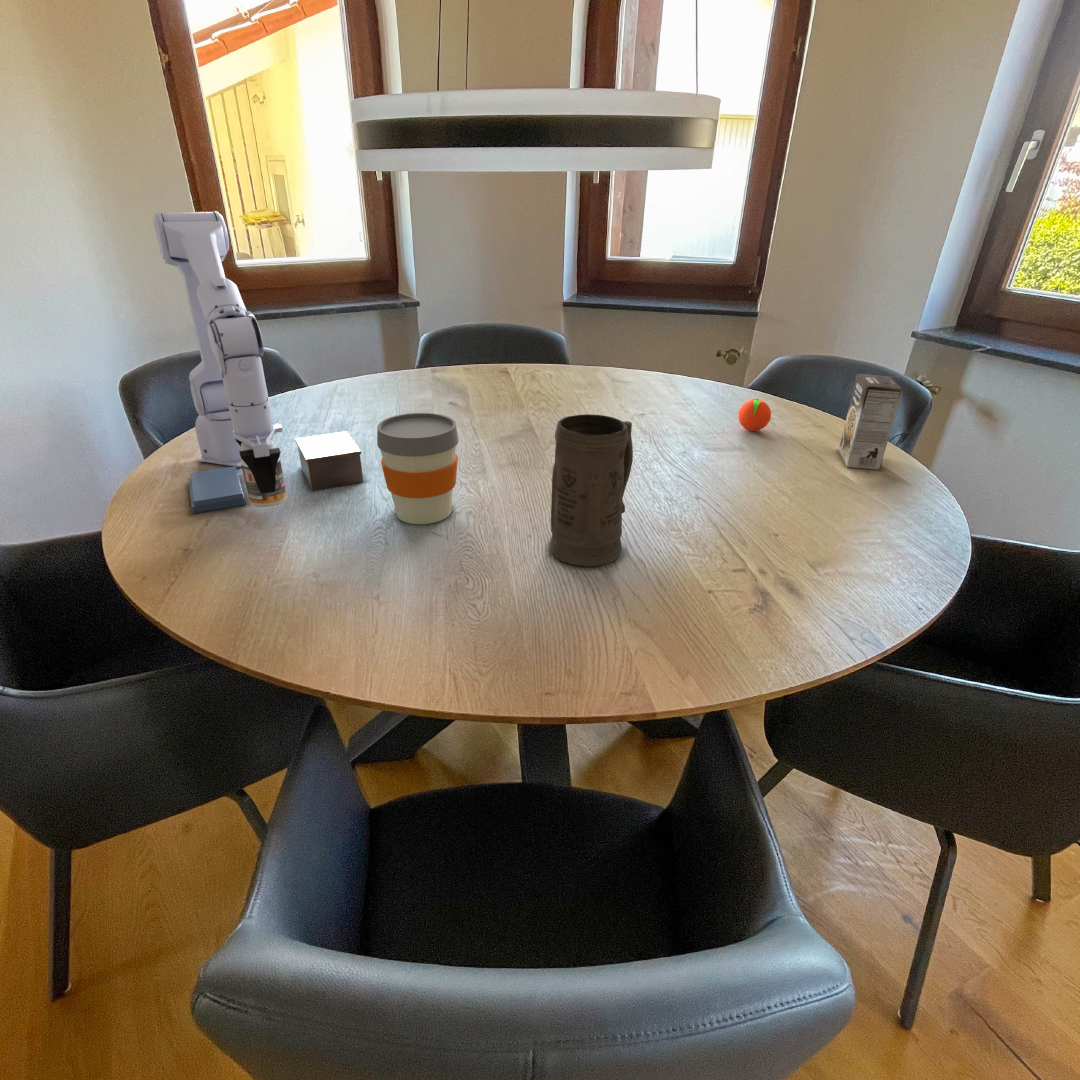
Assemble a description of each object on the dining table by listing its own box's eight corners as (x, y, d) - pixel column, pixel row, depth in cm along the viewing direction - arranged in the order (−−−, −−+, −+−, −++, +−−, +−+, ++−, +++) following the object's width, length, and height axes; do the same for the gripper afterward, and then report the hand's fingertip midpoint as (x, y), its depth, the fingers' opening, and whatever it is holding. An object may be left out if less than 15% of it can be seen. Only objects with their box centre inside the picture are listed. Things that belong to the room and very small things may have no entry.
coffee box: (836, 450, 136) (855, 373, 128) (870, 453, 135) (891, 375, 127) (845, 467, 128) (866, 385, 120) (880, 470, 127) (904, 387, 119)
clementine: (767, 438, 142) (773, 406, 139) (734, 434, 144) (739, 403, 140) (768, 427, 149) (774, 396, 145) (737, 423, 151) (742, 393, 147)
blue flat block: (193, 513, 107) (190, 502, 106) (190, 484, 117) (187, 473, 116) (245, 504, 110) (243, 493, 109) (238, 476, 120) (236, 466, 119)
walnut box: (311, 491, 115) (305, 459, 112) (300, 468, 124) (295, 438, 121) (364, 482, 119) (360, 451, 116) (350, 460, 128) (346, 431, 125)
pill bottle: (275, 510, 103) (263, 450, 98) (242, 506, 104) (229, 447, 99) (294, 495, 108) (283, 438, 103) (262, 491, 109) (250, 435, 104)
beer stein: (598, 577, 91) (612, 438, 83) (533, 556, 96) (540, 422, 88) (643, 540, 103) (659, 414, 95) (583, 522, 108) (593, 402, 100)
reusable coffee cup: (439, 535, 102) (433, 443, 94) (370, 521, 105) (358, 432, 98) (474, 502, 112) (471, 417, 105) (409, 491, 116) (402, 408, 108)
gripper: (283, 411, 94) (299, 497, 101) (270, 385, 105) (284, 464, 112) (230, 417, 91) (249, 505, 98) (222, 390, 103) (240, 471, 109)
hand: (265, 484), depth 105 cm, fingers closed on pill bottle, 5 cm apart
